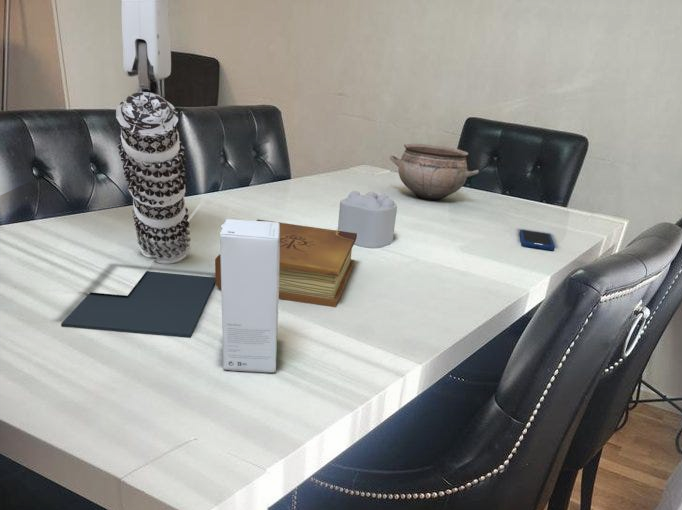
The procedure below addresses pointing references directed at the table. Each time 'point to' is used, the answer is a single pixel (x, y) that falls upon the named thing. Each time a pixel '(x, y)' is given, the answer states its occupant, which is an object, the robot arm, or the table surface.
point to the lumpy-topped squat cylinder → (368, 218)
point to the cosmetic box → (250, 294)
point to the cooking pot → (432, 170)
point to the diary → (311, 264)
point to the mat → (147, 306)
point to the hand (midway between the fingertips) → (154, 132)
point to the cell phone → (536, 240)
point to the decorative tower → (155, 175)
